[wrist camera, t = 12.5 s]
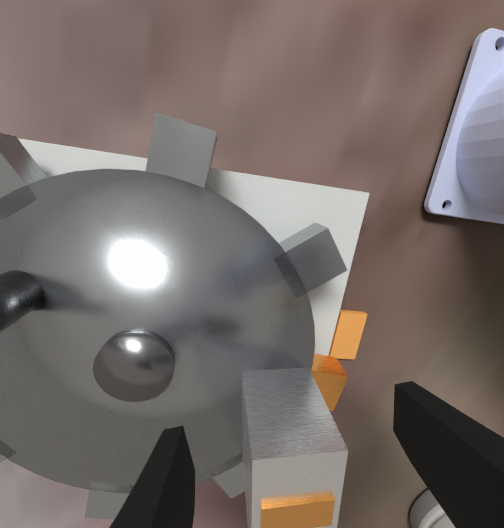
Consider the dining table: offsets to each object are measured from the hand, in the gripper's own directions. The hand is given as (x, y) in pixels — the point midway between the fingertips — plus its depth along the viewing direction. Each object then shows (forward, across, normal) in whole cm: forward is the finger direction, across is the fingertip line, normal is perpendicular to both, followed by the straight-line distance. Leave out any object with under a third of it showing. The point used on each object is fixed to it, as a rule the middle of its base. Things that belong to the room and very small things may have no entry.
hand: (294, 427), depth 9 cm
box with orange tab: (+3, 0, +3) cm, 4 cm away
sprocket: (+5, +6, -1) cm, 7 cm away
